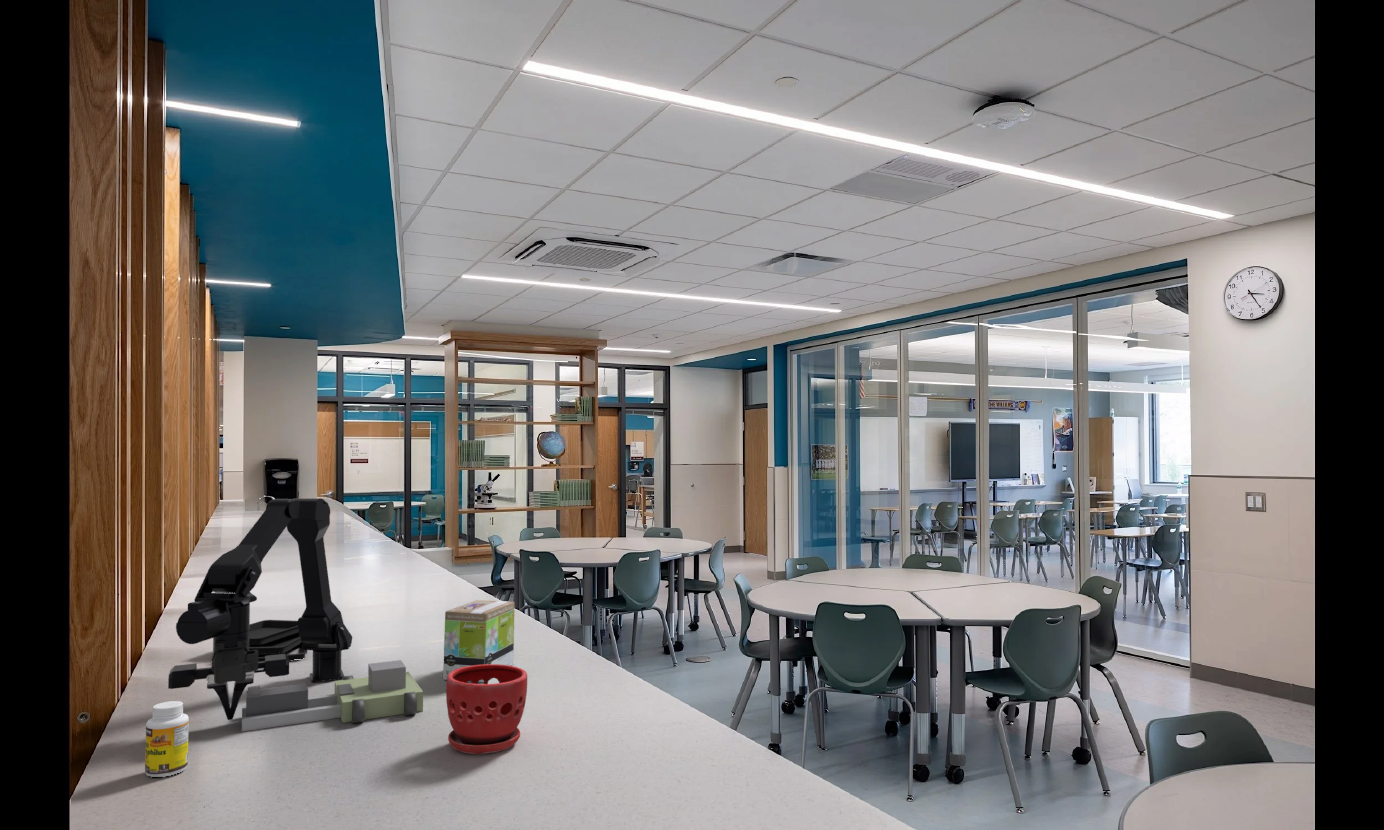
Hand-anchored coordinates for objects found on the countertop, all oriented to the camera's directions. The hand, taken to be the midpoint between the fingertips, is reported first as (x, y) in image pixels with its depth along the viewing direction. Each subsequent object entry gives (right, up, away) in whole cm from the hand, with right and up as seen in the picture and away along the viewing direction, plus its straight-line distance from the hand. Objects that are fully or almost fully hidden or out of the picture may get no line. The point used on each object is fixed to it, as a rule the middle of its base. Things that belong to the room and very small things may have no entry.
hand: (230, 719), depth 150 cm
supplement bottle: (+2, 0, -22) cm, 22 cm away
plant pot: (+48, -1, -11) cm, 50 cm away
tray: (-22, -4, +55) cm, 59 cm away
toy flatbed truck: (+15, -1, +8) cm, 17 cm away
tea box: (+36, -3, +35) cm, 50 cm away
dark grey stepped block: (+7, -1, +3) cm, 8 cm away
